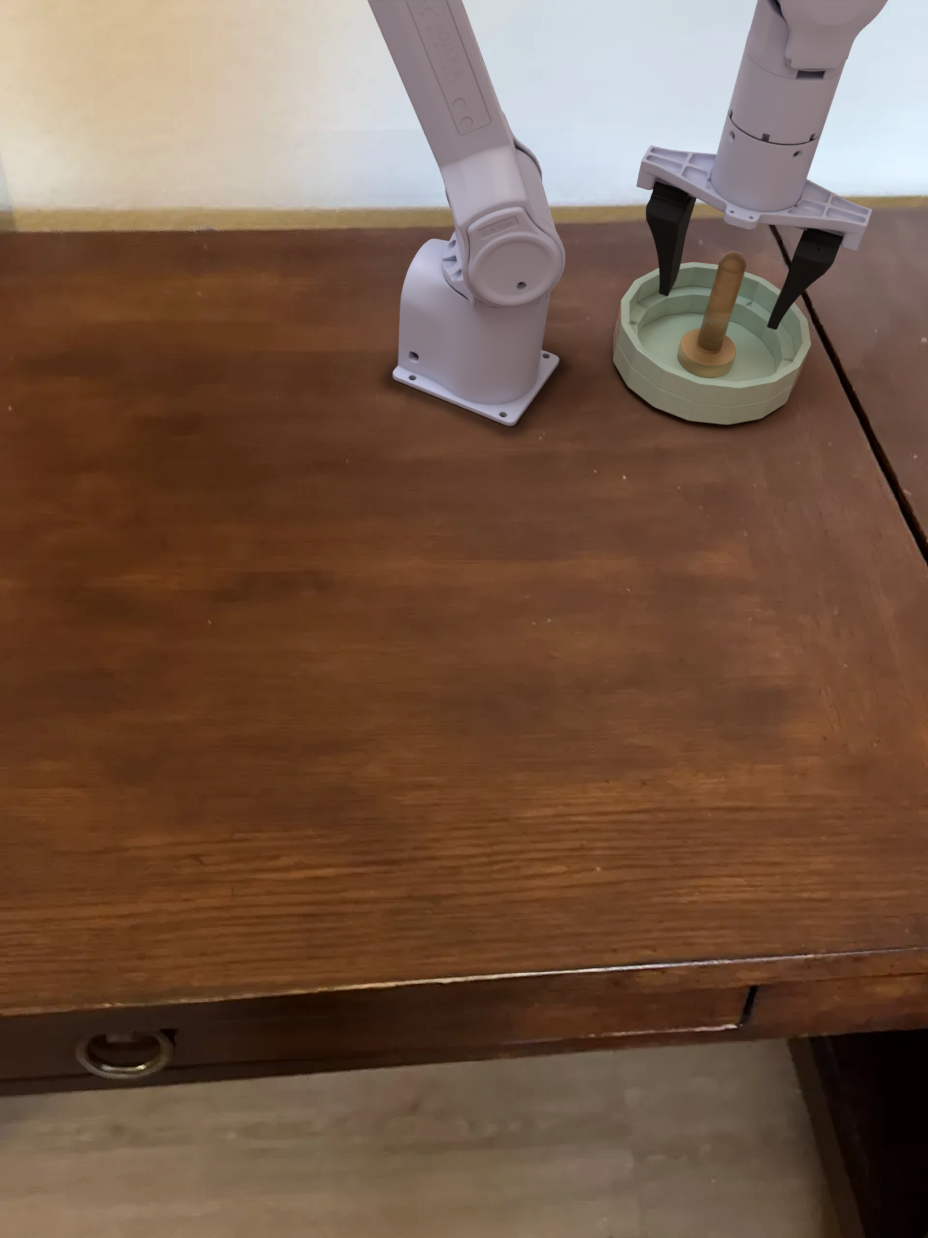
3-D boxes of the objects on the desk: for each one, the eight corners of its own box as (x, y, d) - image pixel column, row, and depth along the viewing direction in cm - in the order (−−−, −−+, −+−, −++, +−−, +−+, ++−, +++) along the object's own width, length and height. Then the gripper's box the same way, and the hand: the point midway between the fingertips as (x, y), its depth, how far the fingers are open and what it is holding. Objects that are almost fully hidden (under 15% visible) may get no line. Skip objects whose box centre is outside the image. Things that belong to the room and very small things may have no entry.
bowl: (582, 386, 85) (591, 341, 82) (651, 285, 93) (662, 241, 89) (759, 456, 82) (775, 412, 79) (816, 346, 90) (833, 302, 86)
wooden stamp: (670, 367, 86) (698, 261, 79) (685, 334, 88) (714, 228, 81) (724, 384, 85) (758, 279, 78) (738, 351, 88) (772, 245, 81)
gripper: (640, 117, 71) (602, 304, 82) (883, 187, 69) (811, 371, 79) (673, 63, 75) (633, 248, 86) (904, 126, 73) (833, 309, 83)
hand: (720, 303), depth 83 cm, fingers open, 7 cm apart
